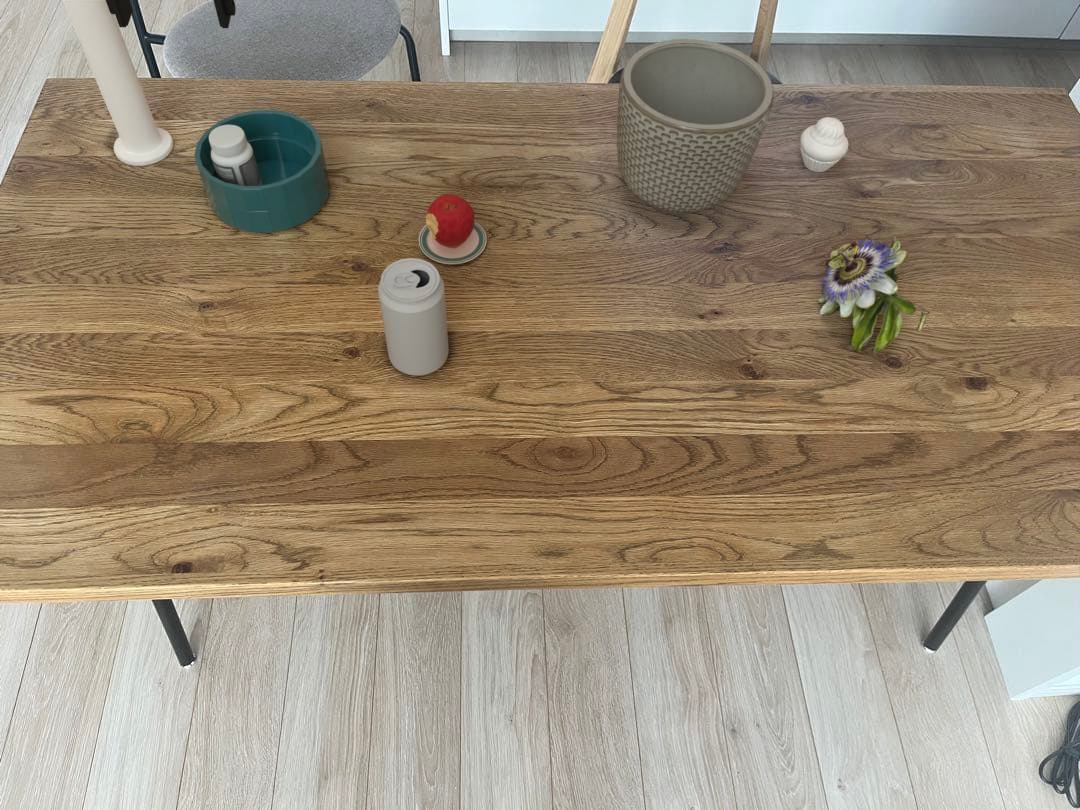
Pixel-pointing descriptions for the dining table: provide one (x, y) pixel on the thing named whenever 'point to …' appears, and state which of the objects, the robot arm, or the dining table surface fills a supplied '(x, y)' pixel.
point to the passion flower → (867, 290)
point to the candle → (118, 84)
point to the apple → (451, 231)
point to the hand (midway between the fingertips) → (176, 20)
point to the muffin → (823, 144)
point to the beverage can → (414, 316)
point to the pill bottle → (233, 156)
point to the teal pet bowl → (269, 173)
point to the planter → (689, 122)
